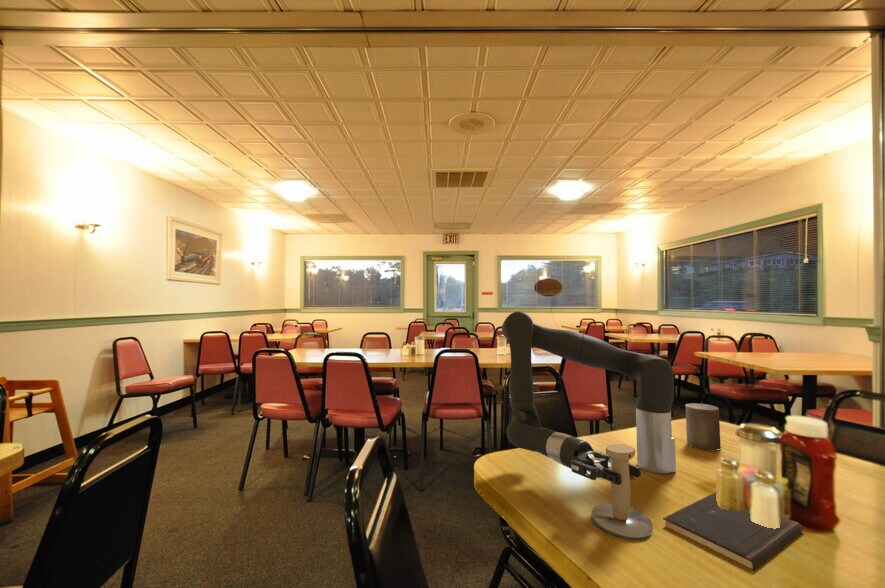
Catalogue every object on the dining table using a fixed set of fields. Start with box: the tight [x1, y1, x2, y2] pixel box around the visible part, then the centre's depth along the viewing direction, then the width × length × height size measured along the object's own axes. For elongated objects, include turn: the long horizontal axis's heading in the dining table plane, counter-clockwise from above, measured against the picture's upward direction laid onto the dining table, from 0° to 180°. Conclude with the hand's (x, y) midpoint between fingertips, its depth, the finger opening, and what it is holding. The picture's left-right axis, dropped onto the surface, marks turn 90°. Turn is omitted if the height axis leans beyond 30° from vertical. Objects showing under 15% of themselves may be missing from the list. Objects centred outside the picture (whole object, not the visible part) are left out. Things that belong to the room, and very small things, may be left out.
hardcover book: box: [663, 491, 803, 571], centre depth 78 cm, size 16×23×2 cm
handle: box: [605, 443, 636, 520], centre depth 81 cm, size 5×6×15 cm
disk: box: [591, 502, 654, 541], centre depth 81 cm, size 12×12×1 cm
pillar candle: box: [684, 402, 722, 451], centre depth 127 cm, size 10×10×15 cm
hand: (630, 476), depth 79 cm, fingers open, 6 cm apart
